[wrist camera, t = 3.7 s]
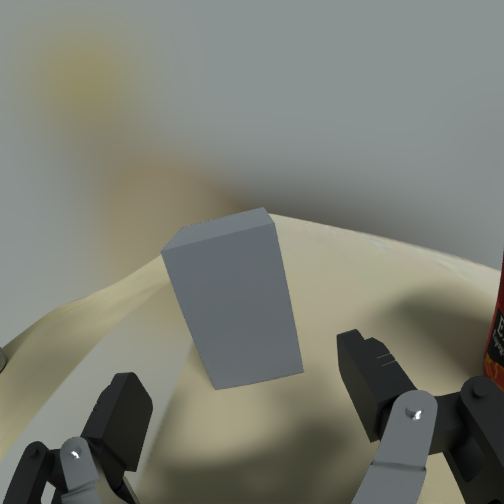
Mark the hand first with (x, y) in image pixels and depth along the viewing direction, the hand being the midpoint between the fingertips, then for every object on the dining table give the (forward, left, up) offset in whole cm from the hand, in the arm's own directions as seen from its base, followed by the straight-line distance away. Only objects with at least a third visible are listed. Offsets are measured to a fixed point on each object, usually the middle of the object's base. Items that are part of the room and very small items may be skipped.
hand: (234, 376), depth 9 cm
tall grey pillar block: (+3, +8, -6) cm, 10 cm away
